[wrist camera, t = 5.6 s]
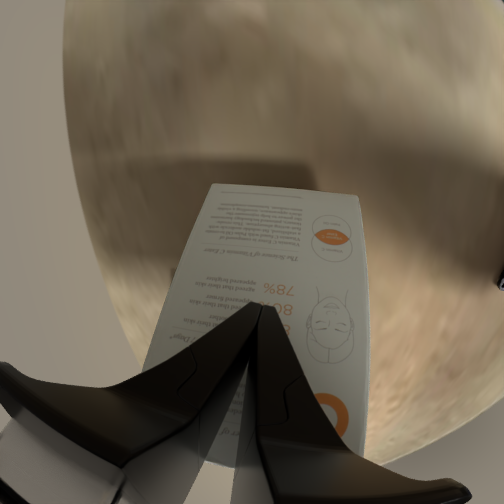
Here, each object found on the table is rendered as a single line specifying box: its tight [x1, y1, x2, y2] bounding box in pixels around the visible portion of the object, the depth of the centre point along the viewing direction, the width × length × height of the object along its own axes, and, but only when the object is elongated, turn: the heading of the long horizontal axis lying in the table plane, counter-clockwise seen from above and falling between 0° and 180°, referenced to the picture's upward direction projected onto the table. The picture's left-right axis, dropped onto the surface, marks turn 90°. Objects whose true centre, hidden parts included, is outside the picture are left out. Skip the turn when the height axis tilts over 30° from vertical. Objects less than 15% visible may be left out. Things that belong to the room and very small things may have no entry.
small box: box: [141, 183, 370, 469], centre depth 13 cm, size 8×6×13 cm
